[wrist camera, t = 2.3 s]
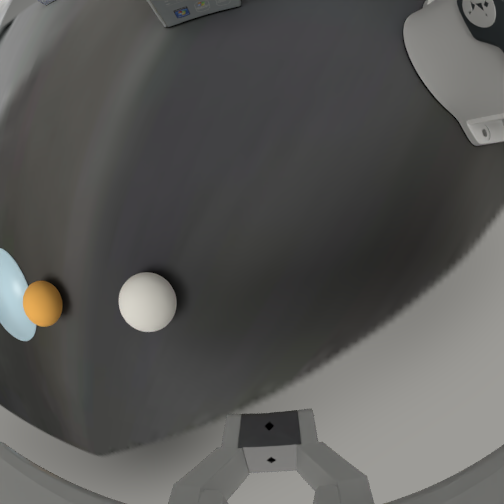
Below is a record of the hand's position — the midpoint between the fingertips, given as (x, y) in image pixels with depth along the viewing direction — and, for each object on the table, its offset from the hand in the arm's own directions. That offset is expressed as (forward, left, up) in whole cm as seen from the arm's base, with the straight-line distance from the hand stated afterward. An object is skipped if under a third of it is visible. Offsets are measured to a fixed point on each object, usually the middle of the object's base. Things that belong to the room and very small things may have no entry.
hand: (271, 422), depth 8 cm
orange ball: (+24, 0, -13) cm, 27 cm away
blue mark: (+36, 0, -15) cm, 39 cm away
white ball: (+10, 0, -13) cm, 16 cm away
